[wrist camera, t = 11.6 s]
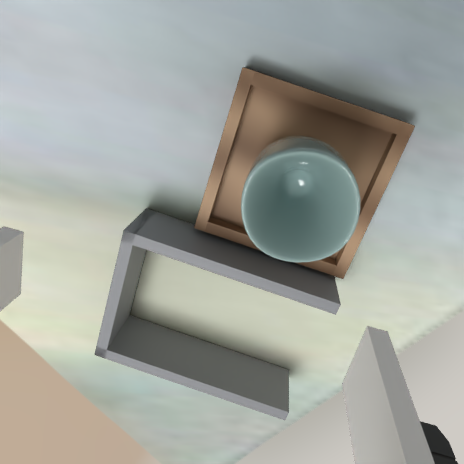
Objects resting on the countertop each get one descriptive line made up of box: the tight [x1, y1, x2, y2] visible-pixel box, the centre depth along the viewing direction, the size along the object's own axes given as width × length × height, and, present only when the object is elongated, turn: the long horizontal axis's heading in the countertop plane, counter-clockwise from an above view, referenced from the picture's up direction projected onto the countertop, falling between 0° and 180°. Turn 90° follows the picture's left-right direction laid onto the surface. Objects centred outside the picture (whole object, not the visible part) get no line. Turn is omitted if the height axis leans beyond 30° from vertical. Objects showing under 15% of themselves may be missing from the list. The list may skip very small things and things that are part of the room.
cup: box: [241, 136, 360, 263], centre depth 32 cm, size 8×8×10 cm
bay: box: [95, 208, 341, 420], centre depth 40 cm, size 13×18×6 cm
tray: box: [194, 67, 415, 279], centre depth 37 cm, size 14×14×2 cm
